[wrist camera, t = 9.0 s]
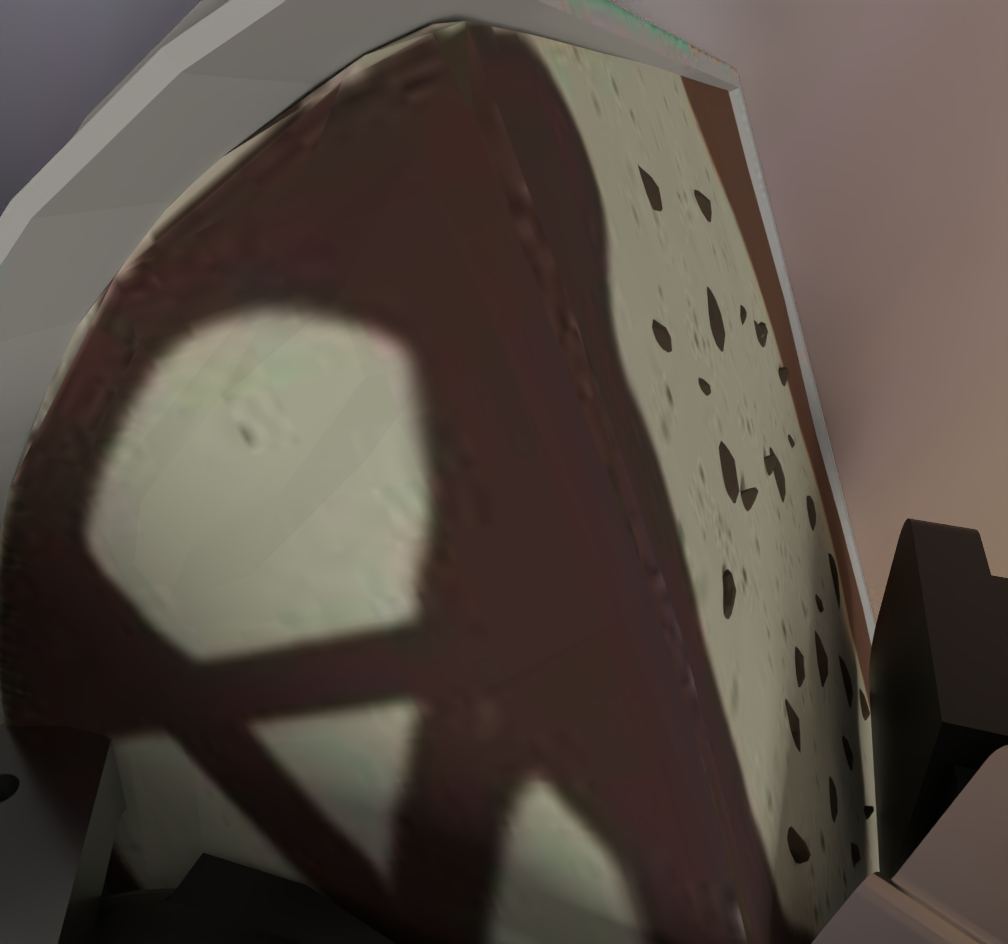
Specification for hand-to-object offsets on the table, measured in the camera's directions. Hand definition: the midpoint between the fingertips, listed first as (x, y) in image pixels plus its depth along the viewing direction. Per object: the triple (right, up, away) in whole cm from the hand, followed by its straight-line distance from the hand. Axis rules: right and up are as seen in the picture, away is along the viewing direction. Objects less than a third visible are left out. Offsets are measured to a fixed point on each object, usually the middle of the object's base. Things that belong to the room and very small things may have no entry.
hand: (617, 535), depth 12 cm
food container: (0, +1, +3) cm, 3 cm away
